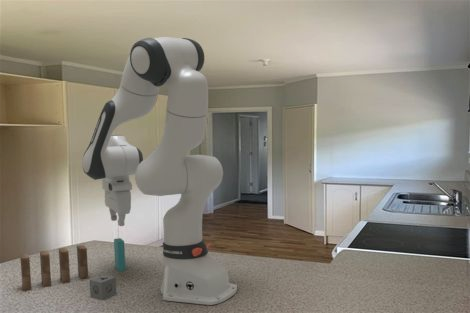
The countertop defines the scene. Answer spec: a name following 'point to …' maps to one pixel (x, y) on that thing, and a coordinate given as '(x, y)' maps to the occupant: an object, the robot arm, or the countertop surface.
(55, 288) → the countertop surface
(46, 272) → the domino
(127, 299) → the countertop surface
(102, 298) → the grey cube
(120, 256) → the domino
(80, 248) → the domino
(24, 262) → the domino
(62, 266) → the domino
